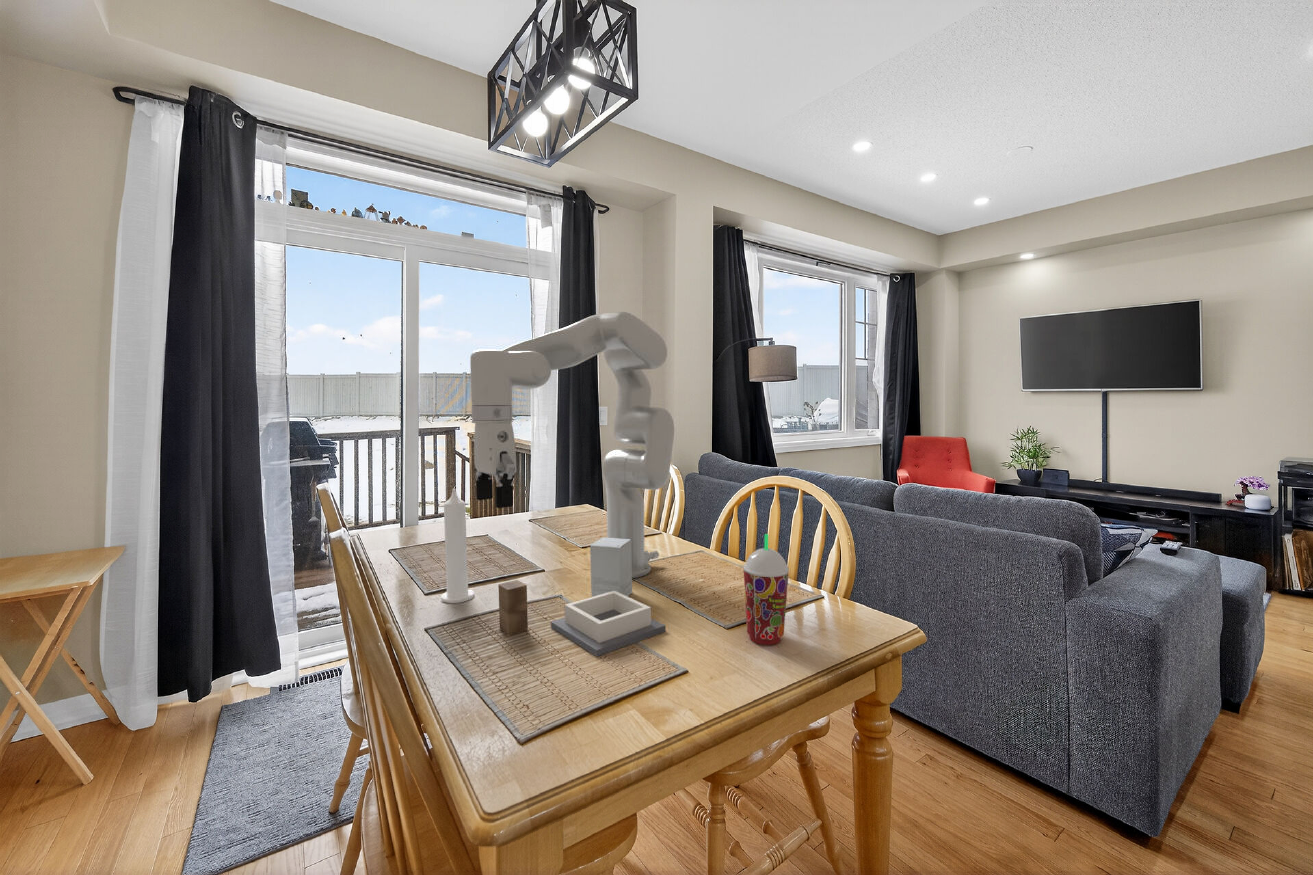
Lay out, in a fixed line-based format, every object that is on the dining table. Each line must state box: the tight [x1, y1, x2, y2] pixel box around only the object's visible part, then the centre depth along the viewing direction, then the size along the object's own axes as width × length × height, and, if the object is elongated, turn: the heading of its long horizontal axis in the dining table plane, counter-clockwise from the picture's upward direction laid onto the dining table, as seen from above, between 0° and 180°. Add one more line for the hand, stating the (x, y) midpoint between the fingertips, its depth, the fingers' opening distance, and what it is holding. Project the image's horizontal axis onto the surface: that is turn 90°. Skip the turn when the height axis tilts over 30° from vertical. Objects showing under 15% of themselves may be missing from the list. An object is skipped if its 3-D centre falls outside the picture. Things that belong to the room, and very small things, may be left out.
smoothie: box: [742, 533, 790, 646], centre depth 105 cm, size 8×8×20 cm
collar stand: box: [550, 591, 666, 657], centre depth 110 cm, size 16×16×5 cm
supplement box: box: [589, 536, 633, 597], centre depth 127 cm, size 7×7×13 cm
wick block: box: [498, 579, 529, 636], centre depth 110 cm, size 4×4×9 cm
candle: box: [440, 488, 475, 604], centre depth 126 cm, size 7×7×25 cm
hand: (494, 503), depth 109 cm, fingers open, 9 cm apart
